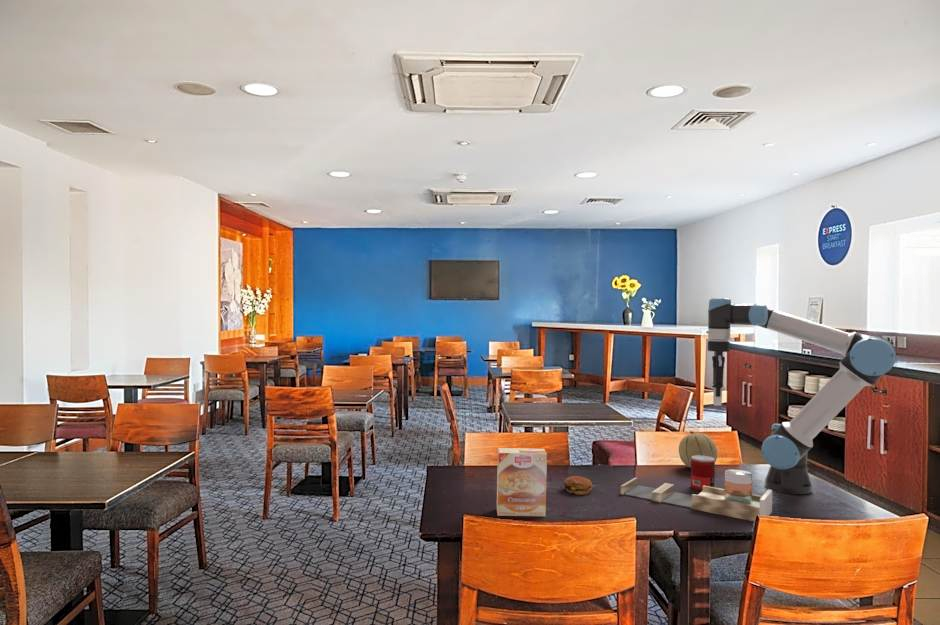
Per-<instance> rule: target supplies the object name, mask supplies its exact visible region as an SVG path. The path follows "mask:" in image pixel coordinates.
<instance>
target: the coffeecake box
mask: <svg viewBox="0 0 940 625" xmlns="http://www.w3.org/2000/svg"><path fill="white" fill-rule="evenodd" d="M547 464H548V453H547V451H546V449H545V448H527V447H526V448H524V447H523V448H522V447H520V448H519V447H517V448H514V447H498V448H497V468H496V469H497V472H496V474H497V475H496V477H497V478H496V514H497V517H500V516H501V517H502V516H503V517H507V516H508V517H546V515H547V514H546V513H547V475H548V474H547V470H548V469H547V468H548V465H547Z"/></svg>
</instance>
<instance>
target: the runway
mask: <svg viewBox="0 0 940 625" xmlns="http://www.w3.org/2000/svg"><path fill="white" fill-rule="evenodd" d="M638 483H639V480H638V477H634V478H632V479H630V480H628V481H626V482H625V483H623V484H622V485H620V495H622V496H627V497H632V498H636V499H640V500H641V499H642V500H647V501H650V502H651V501H652V502H656V503H661V504H664V505H665V504H667V505H671V506H675V507H681V508H685V509H691V510H696V511H699V512H700V511H701V512H705V513H711V514H716V515H721V516H725V517H731V518H736V519H740V520H745V521H751V522H755V519H756V516H757V515H759V511H760V506H754V505H749V504H744V503H738V502H733V501H728V500H724V493H725V492H724V488H720V487H716V486H714V487H709V486H703V491H701V492H699V493H698V494H694V493H692V494H686V493H681V492H675V484H673V483H668V482H664V483H663V484H662V485H660V486H658V487H656V488H655V487H650V486H645V485H640V484H638ZM762 496H763V495H759V494H753V493H752V500H756V501H760V499H761V497H762Z"/></svg>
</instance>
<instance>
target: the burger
mask: <svg viewBox="0 0 940 625" xmlns="http://www.w3.org/2000/svg"><path fill="white" fill-rule="evenodd" d="M563 483H564V484H563V485H564V489H565V490H566V491H567V492H568V493H570V494H574V495H577V496H578V495H579V496H582V495H585V496H586V495H588V494H590V493H591V491H592V489H593V488H594V487H593V484H592V481H591V480H590V479H588V478H586V477H584V476H580V475H579V476H578V475H574V476H573V475H572V476H569V477H567V478H565V479H564V481H563Z"/></svg>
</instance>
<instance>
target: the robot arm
mask: <svg viewBox="0 0 940 625" xmlns="http://www.w3.org/2000/svg"><path fill="white" fill-rule="evenodd" d="M707 312H708V314H707V316H708V317H707V319H708V320H707V323H708V325H707V326H708V327H707V331H706V334H707V339H708V341H707V351H709V352H713V353H714V354H713V355H712V356H711V360H712V368H713V369H712V372H713V373H712V380H713V381H712V384H713V385H712V386H711V387H712V388H713V396H712V397H713V399H712V400H713V401H712V402H713V406H717V407H718V406H719V407H722V405H723V404H722V403H723V402H722V401H723V388H724V369H725V361H726V358H725V357H726V356H724V353H728V352H730V350H731V347H730V346H731V342H730V340H731V325H733V326H735V325H738V326H739V325H740V326H741V325H742V326H755V327H756V326H757V327H761V328H764V329H767V330H770V331H773V332H777V333H779V334H782V335H785V336H788V337H791V338H794V339H797V340H800V341H803V342H806V343H808V344H811V345H815V346H817V347H819V348H823V349H826V350H829V351H832V352H834V353H838V354H840V355H842V359H841V360H840V361H839V369H838V370H837V371H836V372H835V374H834V375H832V377H831V378H830V379H829V380H828V381H827V382H826V383H825V384H824V385H823V386H822V387H821V389H820V390H818V392H817V393H815V395H813V397H812V398H811V399H810V400H809V401H808V402H807V403H806V404H805V405H804V406H803V407H802V408H801V410H800V411H799V412H798V413H797V414H796V415H795V416H794V417H792V419H791V420H790V421H783V422H781V423H773V424H772V425H771V429H770V432H771V433H770V435H769V436H768V437H766V438H765V439H764V440H763V442H762V445H761V455H762V457H763V459H764V461H765V462H766V464H768V465H769V468H768V472H767V473H766V476H765V480H764V486H765V487H766V488H767V489H770V490H772V491H774V492H778V493H782V494H791V495H807V494H811V493H812V492H813V483H812V480H811V478H810V475H809V472H808V452H809V451H810V450H811V449H812V448H813V447H814V442H813V439H814V438H816V437H817V436H818V434H820V432H822V431H823V429H824V428H826V426H828V424H829V423H830V422H831V421H832V420H833V419H834V418H835V417H836V416H837V415H839V413H840V412H841V411H843V409H844V408H845V407H846V406H847V405H849V403H850V402H851V401H852V399H854V398H855V397H856V396H857V395H858V394H859V392H861V390H863V388H864V387H873V386H874V385H875V384H876V383H877V382H878V381H879V380H880V379H881V378H882V377H883V376H884V375H885V374H887V373H888V372H889V371H890V370H891V369H893V367H894V365H895V363H896V359H897V349H896V348H895V346H894V344H893V343H892V342H891V341H890V340H888V339H886V338H884V337H882V336H875V335H869V334H863V333H860V332H856V331H853V332H847V331H845V330H841V329H838V328H835V327H831V326H828V325H825V324H821V323H818V322H815V321H812V320H810V319H806V318H802V317H800V316H797V315H793V314H791V313H787V312H785V311H781V310H778V309H774V308H772V307H768V306H767V305H766V304H765V303H764V304H763V303H732V300H731V299H730V298H727V297H722V298H721V297H714V298H713V297H712V298H710V299H709V301H708V309H707Z"/></svg>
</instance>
